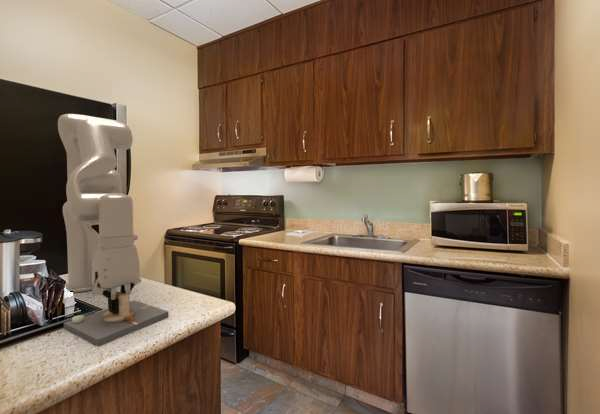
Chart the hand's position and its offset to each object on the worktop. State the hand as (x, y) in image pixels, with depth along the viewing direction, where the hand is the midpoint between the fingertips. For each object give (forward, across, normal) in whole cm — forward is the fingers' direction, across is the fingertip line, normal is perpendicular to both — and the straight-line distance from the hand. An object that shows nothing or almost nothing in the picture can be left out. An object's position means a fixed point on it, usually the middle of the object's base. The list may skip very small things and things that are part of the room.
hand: (118, 310), depth 78 cm
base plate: (+3, 0, 0) cm, 3 cm away
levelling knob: (+2, 0, +1) cm, 2 cm away
